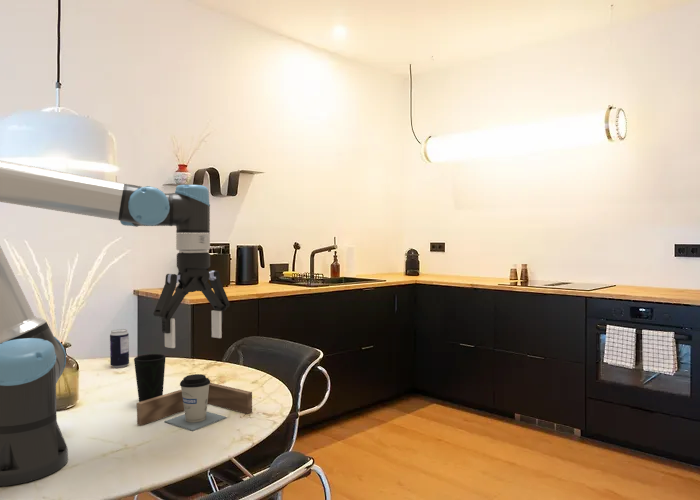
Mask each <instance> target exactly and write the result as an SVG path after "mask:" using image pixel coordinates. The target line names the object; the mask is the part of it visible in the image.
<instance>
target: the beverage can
mask: <svg viewBox="0 0 700 500" xmlns="http://www.w3.org/2000/svg"><path fill="white" fill-rule="evenodd" d="M129 341H130V337H129V332H128V329H126V328H121V329H120V328H119V329H112V330H111V332H110V334H109V351H110V352H109V354H110V366H111V367H112V368H114V369H121V368H125V367H127V366H128V365H129V364H130V346H129V345H130V342H129Z"/></svg>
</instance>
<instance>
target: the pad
mask: <svg viewBox="0 0 700 500" xmlns="http://www.w3.org/2000/svg"><path fill="white" fill-rule="evenodd" d="M225 419H228V416H226V415H225V416H224V415H222V414H218V413H214V412H211V411H207V412H206V419H205V420H203V421H200V422H187V421H186V418H185V413H184V414H181V415H178V416H175V417H173V418H170V419H167V420H164V423H165V424H169V425H172V426H175V427H178V428H180V429H181V428H182V429H185V430H187V431H192V432H194V431H198V430H200V429H202V428H205V427H207V426H210V425H212V424H214V423H218V422H220V421H223V420H225Z"/></svg>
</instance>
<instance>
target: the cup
mask: <svg viewBox="0 0 700 500" xmlns="http://www.w3.org/2000/svg"><path fill="white" fill-rule="evenodd" d="M133 362H134V370H135V379H136V380H135V381H136V386H137V387H136V388H137V395H138V402H141V401H145V400H148V399H151V398H155V397H158V396H161V395H164V383H165V371H166V355H165V354H162V353H161V354H160V353H150V354H149V353H148V354H141V355H138V356H136V357H134V358H133Z"/></svg>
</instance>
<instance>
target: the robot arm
mask: <svg viewBox="0 0 700 500" xmlns="http://www.w3.org/2000/svg"><path fill="white" fill-rule="evenodd" d="M209 191H210V190H209V189H208V187H207V186H205V185H200V184H178V185H177V186H176V187H175V191H174V192H172V193H170V192H169V193H167V192H166V193H164V191H162V190H160V189H159V188H157V187H155V186H150V185H149V186H148V185H147V186H141V185H134V184H129V183H128V184H127V183H125V182H119V181H113V180H110V179H109V180H108V179H103V178H98V177H92V176H85V175H81V174H75V173H69V172H64V171H60V170H59V171H58V170H54V169H48V168H44V167H38V166H32V165H27V164H21V163H16V162H10V161H5V160H0V203H6V204H9V205H10V204H12V205H18V206H23V207H31V208H36V209H37V208H38V209H43V210H45V209H46V210H51V211H57V212H62V213H63V212H64V213H67V214H68V213H70V214H76V215H82V216H88V217H94V218H95V217H96V218H101V219H106V220H107V219H108V220H116V221H120V222H119V223H120V224H121V225H122V226H127V227H135V228H136V227H168V226H169V227H175V229H176V231H175V233H176V234H175V235H176V237H175V240H176V242H175V243H176V244H175V245H176V246H175V247H176V248H175V249H176V250H177V251H178V252H177V254H176V268H177V271H178V272H177V274H175V273H166V274H165V282H164V286H163V288H162V289H161V293H160V296H159V297H158V301H157V303H156V306H155V308H154V310H153V317H157V318H160V320H161V331H162V334H164V347H165V348H168V349H169V348H170V349H175V348H176V320H175V319H176V318H172V317H173V316H174V314H175V313H176V312H177V309H178V308H179V307H180V305H181V303H182V302H183V300H184V298H185V297H186V296H187V295H188V294H189V293H194V292H201V293H202V295H203V296H204V297H205V298H206V299H207V301H208V302H209V304H210V306H212V308H213V309H214V310H211V311H210V313H211V338H216V339H222V334H223V332H222V330H223V329H222V324H223V323H224V312H226V310H227V308H229V307H230V306H231V303H230V300H229V299H228V296H227V293H226V291H225V288H224V285H223V284H222V280H221V275H220V274H221V273H220V271H219V270H209V269H210V267H211V254H210V252H208V251H209V250H211V232H210V230H211V228H210V226H211V225H210V224H211V223H210V222H211V218H210V217H211V213H210V212H211V211H210V210H211V204H210V192H209ZM208 281H209V282H208ZM66 356H67V353H66V350H65V347H64V345H63V344H62V342H61V341H60V340H59V339H58V338H57V337H56V336H54V334H53V332H52V330H51V327H50V326H49V324H48V322H47V320H46V319H44V318H40V317H37V316H36V315H35V313H34V312H33V310H32V308H31V306H30V304H29V301H28V300H27V297H26V295H25V294H24V291H23V289H22V287H21V285H20V283H19V281H18V279H17V277H16V276H15V273H14V272H13V269H12V267H11V265H10V263H9V261H8V258H7V257H6V254H5V252H4V251H3V248H2V247H1V245H0V487H8V486H14V485H20V484H24V483H28V482H31V481H32V482H33V481H35V480H38V479H39V480H40V479H43V478H44V477H47V476H49V475H51V474H53V473H55V472H58V471H59V470H60V469H62V468H63V467H64V466H66V464H67V463H68V460H69V456H68V455H69V453H68V452H69V451H68V446H67V443H66V441H65V438H64V436H63V433H62V432H61V429H60V426H59V423H58V419H57V418H58V417H57V383H58V381H59V379H60V378H61V376H62V375H63V372H64V371H65V368H66V363H67V357H66Z"/></svg>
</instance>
